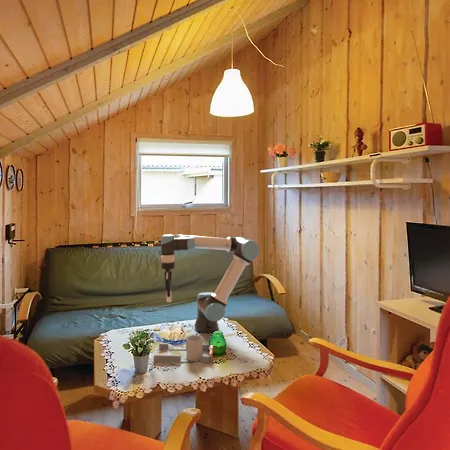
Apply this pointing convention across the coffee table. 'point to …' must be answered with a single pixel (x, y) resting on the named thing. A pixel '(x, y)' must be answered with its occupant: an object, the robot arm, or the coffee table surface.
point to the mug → (194, 347)
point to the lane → (178, 357)
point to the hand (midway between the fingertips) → (169, 301)
